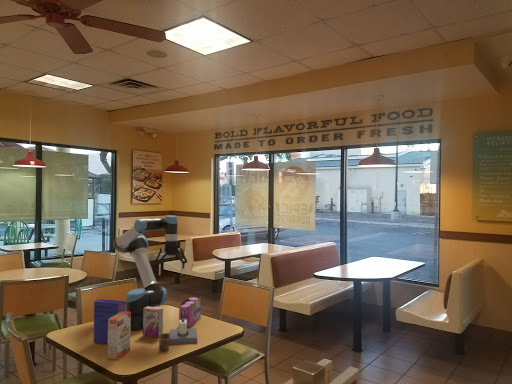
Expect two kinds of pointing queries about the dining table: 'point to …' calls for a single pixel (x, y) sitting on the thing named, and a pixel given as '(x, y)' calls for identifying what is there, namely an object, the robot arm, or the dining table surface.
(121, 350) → the cracker box
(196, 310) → the gum box
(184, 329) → the plug
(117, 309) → the cereal box
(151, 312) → the candy bar box
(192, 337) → the port block
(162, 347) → the holster
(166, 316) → the dining table surface
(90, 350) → the dining table surface
